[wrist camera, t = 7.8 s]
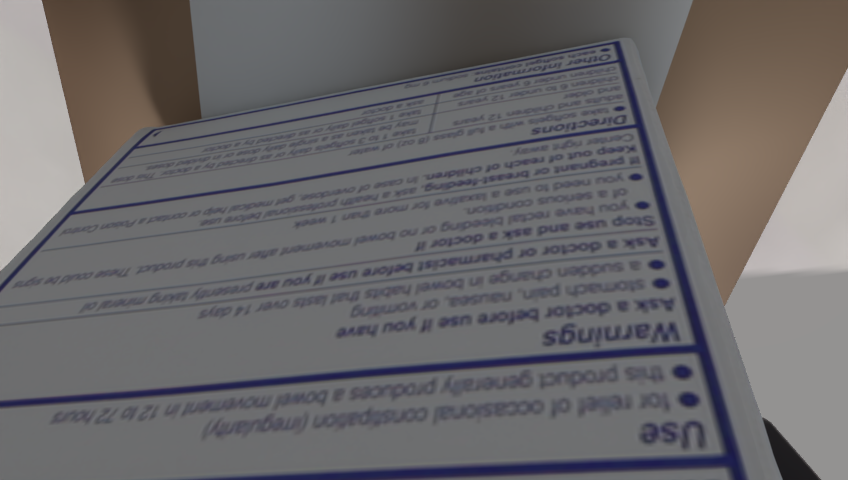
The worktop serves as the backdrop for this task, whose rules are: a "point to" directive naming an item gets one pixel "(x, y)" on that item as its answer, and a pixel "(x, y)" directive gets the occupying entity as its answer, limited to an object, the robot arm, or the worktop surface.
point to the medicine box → (384, 295)
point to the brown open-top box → (466, 47)
